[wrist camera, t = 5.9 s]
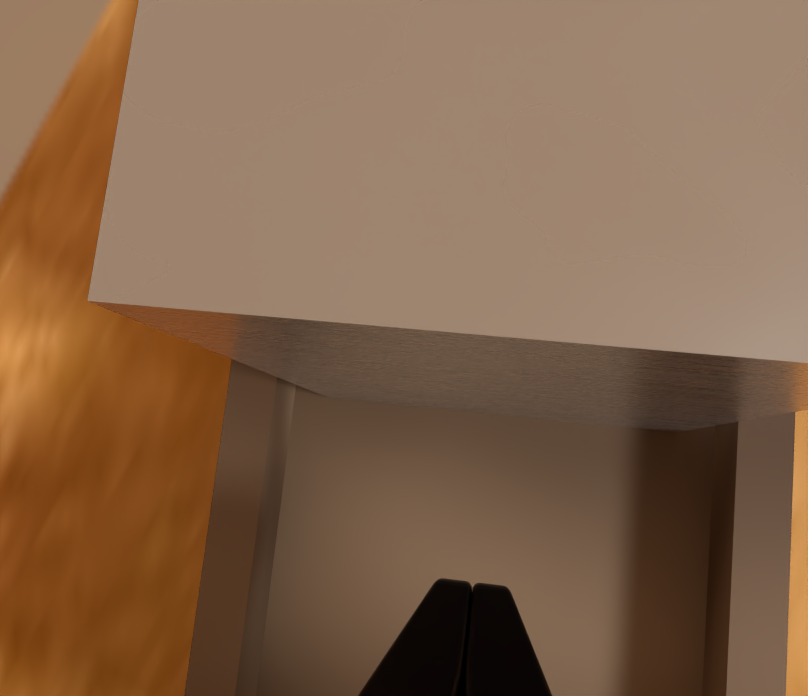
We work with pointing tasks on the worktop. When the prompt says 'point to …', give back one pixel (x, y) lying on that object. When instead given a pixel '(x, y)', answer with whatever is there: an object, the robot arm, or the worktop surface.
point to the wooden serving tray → (491, 544)
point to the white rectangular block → (474, 201)
